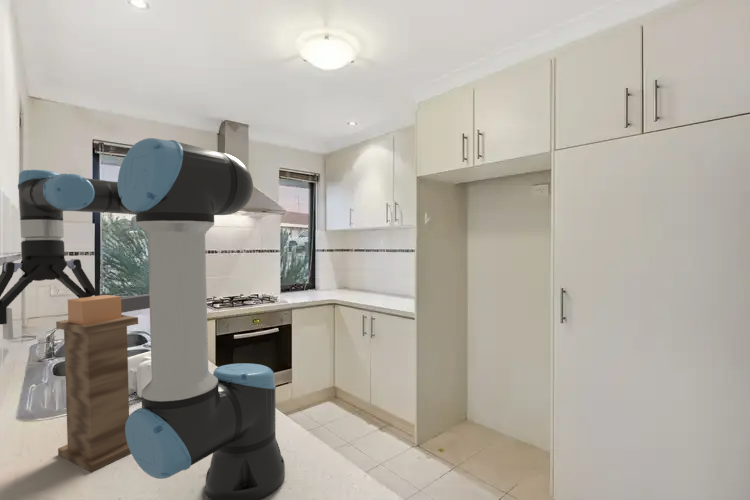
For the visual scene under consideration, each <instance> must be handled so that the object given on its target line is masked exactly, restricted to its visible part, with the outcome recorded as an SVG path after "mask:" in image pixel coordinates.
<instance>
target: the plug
mask: <svg viewBox="0 0 750 500" xmlns="http://www.w3.org/2000/svg"><path fill="white" fill-rule="evenodd" d="M145 309H150V298H149V293H146V294H140V295H139V294H137V295H132V296H130V295H129V296H124V297H123V296H120V295H112V294H111V295H110V294H102V295H95V296H91V297H85V298H78V297H77V298H70V299H67V318H68V319H67V320H68V322H71V323H76V324H81V325H84V324H90V323H96V322H101V321H107V320H113V319H118V318H122V315H123V314H122V313H128V312H133V311H134V312H135V311H140V310H145Z"/></svg>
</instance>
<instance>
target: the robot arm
mask: <svg viewBox="0 0 750 500" xmlns="http://www.w3.org/2000/svg"><path fill="white" fill-rule="evenodd" d="M117 177H118V178H117V181H111V180H103V179H95V178H85V177H84V176H82V175H80V174H77V173H76V174H75V173H58V172H55V171H51V170H45V169H44V170H43V169H25V170H22V171H20V172H19V173H18V184H17V189H18V199H19V201H18V202H19V217H20V218H19V220H20V223H19V224H20V237H21V238H22V239H24V240H22V241H21V242H20V248H21V249H20V250H21V261H20V262H14V261H13V262H12V261H5V262H3V263H2V269H1V272H0V325H2V338H3V340H8V341H9V340H14V327H13V325H14V323H13V309H12V308H10V307H9V306H10V305H11V303H12V302H13V301H14V300H15V299H17V297H18V296H19V295H20V294H21V293H22V292H23V290H25V289H26V288H27V287H28V286H29V285H30V284H31V283H32V282H33V281H36V282H38V281H39V282H40V281H45V280H49V281H52V280H57V281H59V282H60V283H61V284H63V285H64V286H65V287H66V288H67V289H68V290H70V292H72V293H73V295H75V296H76V297H77V298H85V297H93V296H97V294H98V292H97V290H96V289H95V287H94V286H93V284H92V282H91V281H90V279H89V278H88V276H87V274H86V273H85V271H84V269H83V268H82V267H83V266H82V263H81V260H80V259H79V258H78V259H77V258H75V259H74V258H73V259H70V260H66V259H65V255H66V254H65V252H66V251H65V241H64V240H63V239H62V238H65V234H64V233H65V232H64V231H65V230H64V229H65V228H64V212H80V213H81V212H83V213H101V214H102V213H106V214H107V213H110V214H122V215H123V214H124V215H125V214H126V215H135V217H136V218H135V219H136V220H135V221H136V222H135V223H136V225H137V226H138V227H140V229H142V230H143V231H144V232H145V233H146V235H147V255H148V256H147V257H148V261H147V262H148V289H149V290H148V292H149V293H148V294H149V298H150V308H149V324H150V329H149V330H150V351H151V367H152V380H151V381H150V382H149V383H148V385H147V386H146V387H145V388H144V389H143V390H142V397H141V407H138V408H136V409H135V410H134V411H133V412H131V413H129V417H128V419H127V421H126V426H125V433H126V440H127V444H128V447H129V449H130V452H131V453H130V454H131V456H132V458H133V460H135V462H136V464H137V466H139V467H140V469H141V470H142V471H143V472H144V473H145V474H146V475H148V476H150V477H152V478H154V479H160V480H162V479H168V478H170V477H172V476H175V475H177V474H178V473H181V472H182V471H187V470H189V469H190V468H191V467H192V466H193V465H195V464H196V463H199V462H200V461H201V460H203V459H205V458H207V457H209V456H210V455H212V456H211V460H210V466H209V468H208V470H207V471H206V475H205V493H206V495H207V497H208V498H209V499H210V500H262V499H265V498H266V497H268V496H269V495H271V494H272V493H274V492H275V491H277V490H278V489H279V487H281V486H282V483H283V482H284V480H285V476H286V467H285V465H286V464H285V460H284V458H283V455H282V453H281V449H280V447H279V444H278V441H277V436H276V389H277V386H276V384H275V373H274V370H273V369H271V368H270V367H268V366H266V365H263V364H259V363H258V364H257V363H230V364H224V365H221V366H217V367H216V368H214V371H213V373H211V371H209V346H208V345H209V343H208V341H209V340H208V339H209V337H208V335H209V334H208V303H207V301H208V299H207V298H208V297H207V293H208V292H207V264H206V262H207V259H206V257H207V256H206V254H207V253H206V233H207V232H208V231H209V230H210V229H211V228H212V227H213V226H215V216H226V215H233V214H235V213H237V212H239V211H241V210H242V209H244V208H245V207H246V206H247V204H248V203H249V202H250V200H251V198H252V195H253V193H254V192H253V189H254V182H253V178H252V174H251V173H250V171H249V169H248V168H247V167H246V165H245V164H244V162H242V161H241V160H239V159H238V158H237V157H235V156H233V155H231V154H229V153H225V152H223V151H215V150H211V149H208V148H203V147H199V146H197V145H196V146H194V145H192V144H188V143H183V142H178V141H177V140H173V139H172V140H171V139H169V140H168V139H159V138H156V137H155V138H154V137H153V138H152V137H148V138H144V139H141V140H139V141H138V142H136V143H134V144H133V145H132V146H131V147H130V148H129V149H128V151H127V153H126V155H124V158H123V160H122V162H121V164H120V168H119V171H118V176H117ZM66 267H68V268H69V270H71V271H72V274H73V275H74V277H75V278H76V280H77V282H79V285H80V286H81V287H80V286H79V285H78V284H77V283H76V282H74V280H72V279H71V278H70V277H69V275H68V274H67V272H65V271H64V270H65V269H66ZM19 269H20V270H21V271H22V272H23V274H22V275H21V276H20V277H19V278H18V280H17V282H16V283H14V284H13V286H12V287H11V288H10V289H8V291H7V292H6V293H5V294H4V295H3V293H4V292H5V289H7V286H8V285H9V283H10V281H11V280H12V278H13V276H14V273H17V272H18V270H19ZM2 295H3V296H2Z"/></svg>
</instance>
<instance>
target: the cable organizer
mask: <svg viewBox="0 0 750 500" xmlns="http://www.w3.org/2000/svg"><path fill="white" fill-rule="evenodd" d="M151 380H152V367H151V350H150V351H146V352H143V353H137V354H135V355H132V356H128V390H129V394H130V395H132V393H133V394H135V393H134V392H136V393H137V394H136V395H137V396H138V397H139V398H142V390H143V389H144V388H145V387H146V386H147V385H148V383H149V382H150V381H151Z"/></svg>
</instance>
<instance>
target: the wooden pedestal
mask: <svg viewBox="0 0 750 500" xmlns="http://www.w3.org/2000/svg"><path fill="white" fill-rule="evenodd" d="M55 323H56V324H55V325H56V326H55V327H56V329H57V330H63V335H64V336H63V338H64V339H63V342H64V343H63V344H64V345H63V346H64V368H65V369H64V370H65V371H64V372H65V373H64V374H65V395H66V396H65V400H66V403H65V405H66V407H65V408H66V432H67V434H66V437H67V438H66V439H67V444H66V445H63V446H60V447H58V449H57V455H58V456H60V457H61V458H63V459H66V460H67V461H70V462H71V463H73V464H75V465H77V466H79V467H81V468H82V469H85V470H87V471H89V472H91V473H93V472H95V471H97V470H99V469H101V468H103V467H105V466H107V465H109V464H111V463H114V462H115V461H117V460H120V459H123V458H125V457H126V456H128V455H130V454H131V452H130V449H129V447H128V444H127V440H126V433H125V426H126V421H127V419H128V417H129V415H130V406H129V405H130V403H129V402H130V395H129V390H128V357H129V356H128V353H129V352H128V351H129V350H128V327H129V326H134V325H138V324H139V317H136V316H130V315H125V314H124V315H123V314H122V318H118V319H113V320H107V321H101V322H96V323H90V324H84V325H81V324H76V323H71V322H68V319H64V320H58V321H56V322H55Z"/></svg>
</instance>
